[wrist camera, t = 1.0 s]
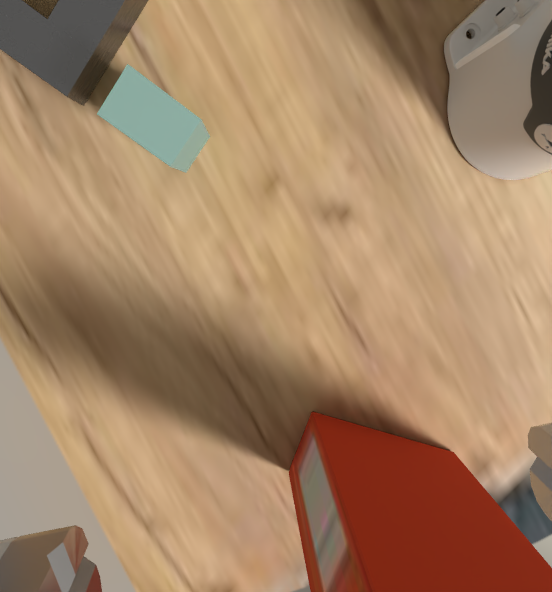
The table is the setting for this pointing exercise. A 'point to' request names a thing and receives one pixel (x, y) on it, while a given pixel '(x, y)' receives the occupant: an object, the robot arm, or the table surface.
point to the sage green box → (154, 120)
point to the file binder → (401, 518)
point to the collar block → (67, 40)
